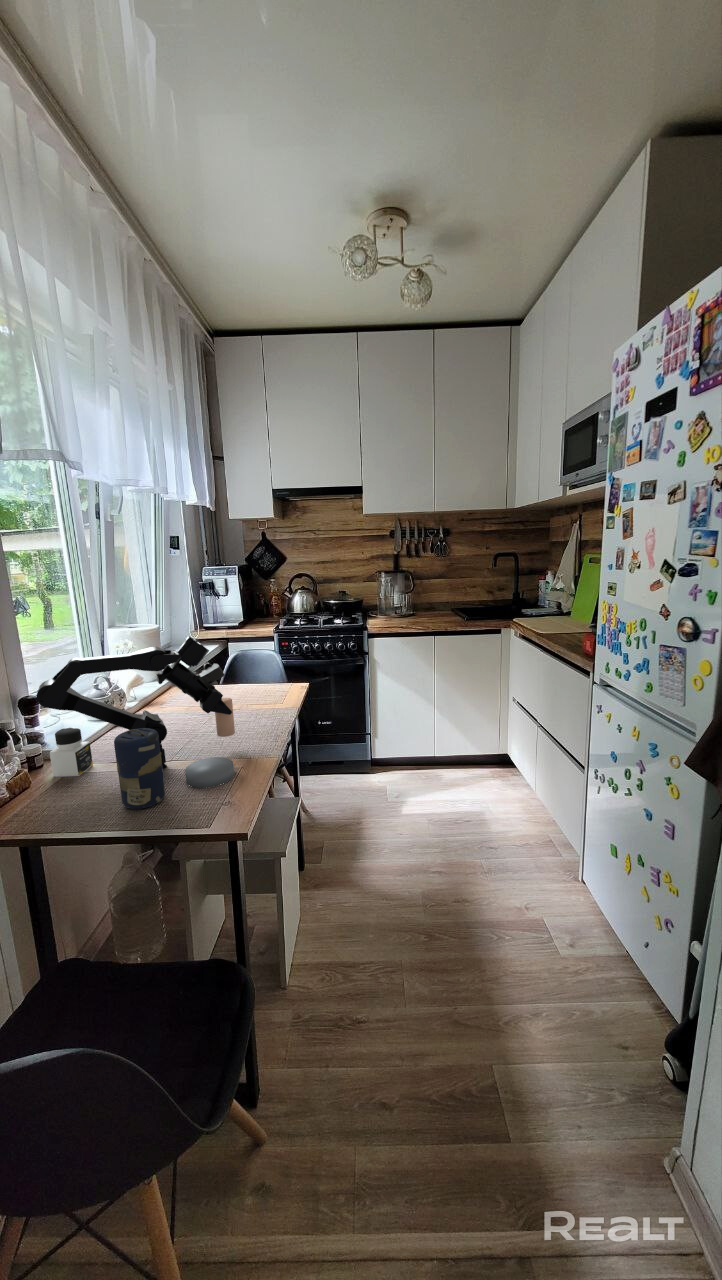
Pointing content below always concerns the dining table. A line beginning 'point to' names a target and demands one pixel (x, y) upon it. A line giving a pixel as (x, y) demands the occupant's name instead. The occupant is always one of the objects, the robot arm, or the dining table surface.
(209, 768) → the pedestal
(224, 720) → the tan piece
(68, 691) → the robot arm
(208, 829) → the dining table surface
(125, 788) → the canister
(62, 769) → the medicine bottle
